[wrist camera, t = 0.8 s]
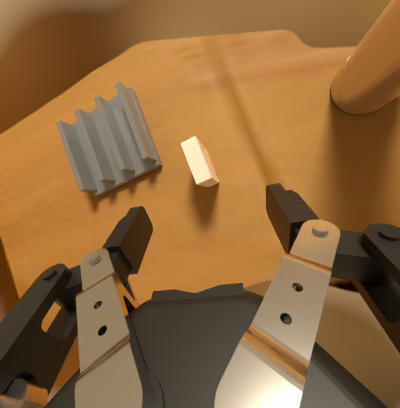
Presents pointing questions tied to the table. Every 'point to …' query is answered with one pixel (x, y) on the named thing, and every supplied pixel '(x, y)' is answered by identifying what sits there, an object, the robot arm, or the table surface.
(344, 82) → the robot arm
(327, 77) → the table surface
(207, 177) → the tall cream block
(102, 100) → the dish rack
